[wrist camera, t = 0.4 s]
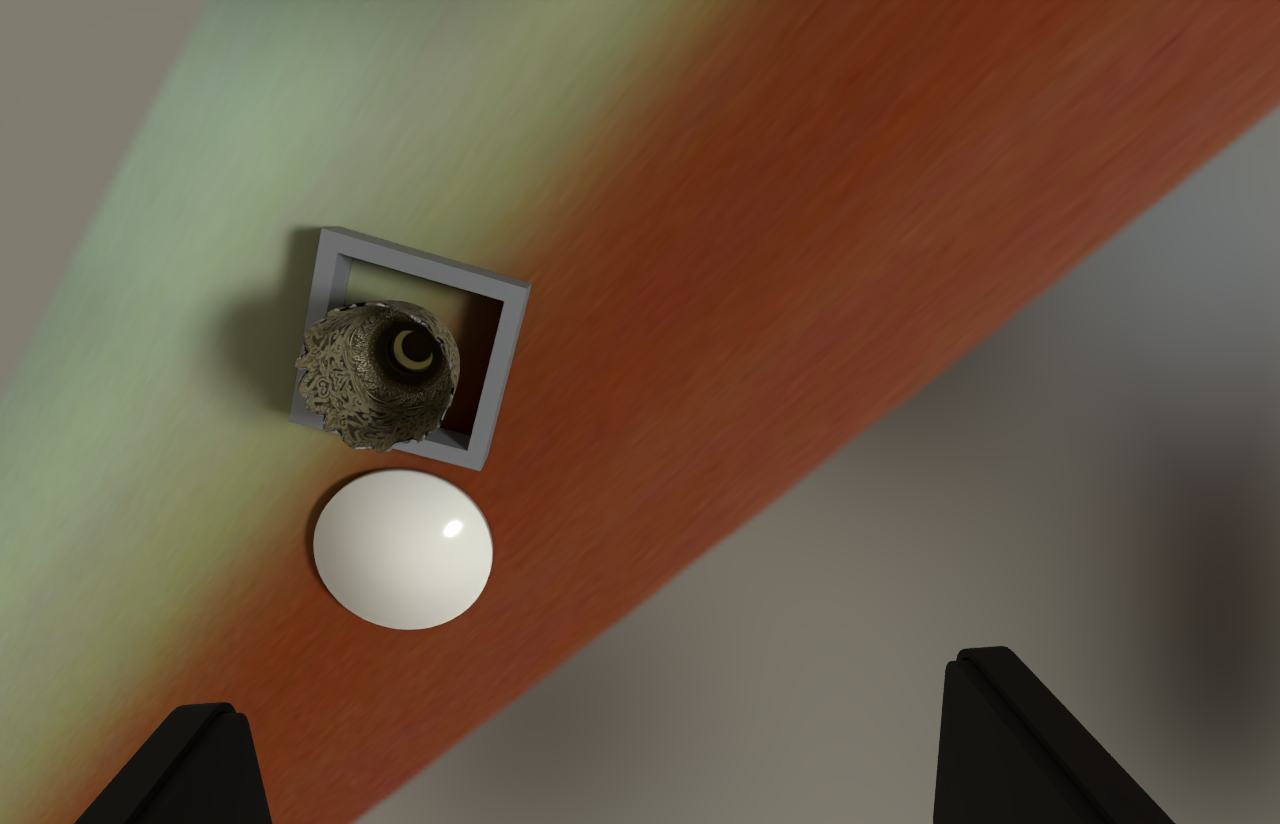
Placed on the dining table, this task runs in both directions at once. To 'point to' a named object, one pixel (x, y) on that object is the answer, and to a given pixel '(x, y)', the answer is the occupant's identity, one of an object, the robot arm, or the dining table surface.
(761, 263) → the dining table surface
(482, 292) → the pocket frame
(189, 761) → the robot arm
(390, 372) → the ornate bronze lamp shade
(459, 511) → the coaster
